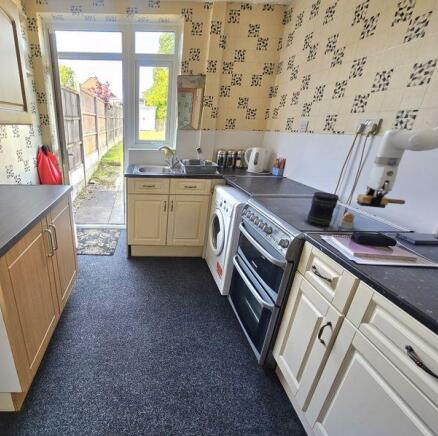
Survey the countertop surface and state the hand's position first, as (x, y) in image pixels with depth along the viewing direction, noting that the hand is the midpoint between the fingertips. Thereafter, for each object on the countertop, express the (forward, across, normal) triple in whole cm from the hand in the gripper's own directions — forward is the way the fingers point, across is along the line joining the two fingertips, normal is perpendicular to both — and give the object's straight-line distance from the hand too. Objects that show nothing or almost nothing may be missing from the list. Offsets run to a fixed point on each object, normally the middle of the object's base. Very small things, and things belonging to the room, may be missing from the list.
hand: (370, 204), depth 105 cm
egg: (+14, +8, +2) cm, 17 cm away
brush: (+1, 0, -3) cm, 3 cm away
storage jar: (+14, +8, +14) cm, 22 cm away
